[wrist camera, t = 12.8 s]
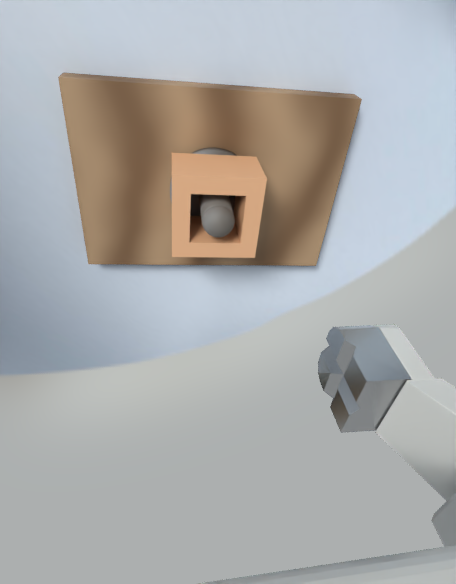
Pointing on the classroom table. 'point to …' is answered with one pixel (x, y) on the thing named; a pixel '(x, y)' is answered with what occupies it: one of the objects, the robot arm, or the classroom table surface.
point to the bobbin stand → (201, 140)
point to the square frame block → (216, 181)
